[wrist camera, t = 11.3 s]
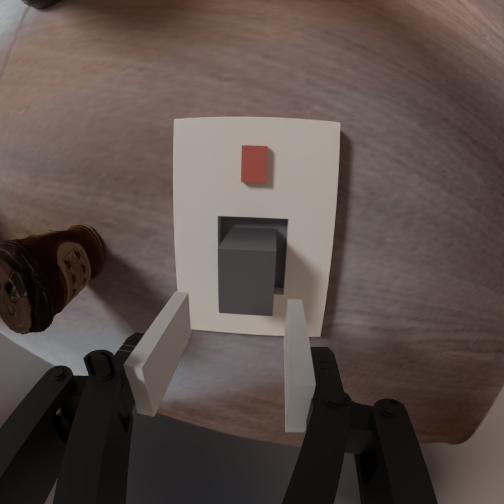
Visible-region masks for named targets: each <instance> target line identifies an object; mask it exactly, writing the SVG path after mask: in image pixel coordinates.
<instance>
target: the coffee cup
mask: <svg viewBox="0 0 504 504" xmlns="http://www.w3.org/2000/svg"><path fill="white" fill-rule="evenodd" d="M103 263H104V252H103V247H102V244H101V242H100V240H99V237H98V235H97V234H96V233H95V232H94V230H93V229H92V228H91V227H90V226H88V225H84V224H82V223H80V224H75V225H73V226H71V227H70V228H69V229H68V230H65V231H52V230H48V231H46V232H42V233H36V234H33V235H30V236H28V237H26V238H23V239H19V240H18V239H15V240H7V241H3V242H0V316H1V318H2V319H3V321H4V323H6V325H7V326H8V327H9V328H10V329H11V330H13V331H14V332H16V333H21V334H27V333H29V332H30V333H31V332H42V331H44V330H45V329H47V328H48V327H49V326H50V324H51V323H52V321H53V318H54V316H55V315H56V314H57V313H59V312H61V311H62V310H63V309H64V307H65V306H66V305H67V304H68V303H69V302H70V301H71V300H72V299H73V298H74V297H75V296H77V294H78V293H79V292H80V291H81V290H82V289H83V288H84V287H85V286H86V284H87V283H88V281H89V279H91V278H94V277H96V276H97V275H98V274H99V273H100V271H101V269H102V267H103Z"/></svg>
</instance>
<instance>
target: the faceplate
mask: <svg viewBox="0 0 504 504" xmlns="http://www.w3.org/2000/svg"><path fill="white" fill-rule="evenodd" d="M339 150H340V123H339V122H330V121H320V120H308V119H294V118H274V117H203V118H184V119H174V141H173V208H174V239H175V259H176V276H177V290H178V292H185V293H188V295H189V310H190V323H191V329H194V330H204V331H215V332H227V333H240V334H255V335H274V336H284V333H285V323H286V312H287V301H288V299H301V300H302V302H303V308H304V314H305V320H306V325H307V331H308V337H320V335H321V329H322V323H323V317H324V310H325V303H326V296H327V289H328V281H329V273H330V265H331V256H332V247H333V237H334V227H335V215H336V203H337V189H338V172H339ZM231 227H250V228H272V229H276V267H275V284H274V300H273V316H258V315H242V314H227V313H219V302H218V247H219V246H220V244H221V243H222V241H223V240H224V238H225V237H226V235H227V234H228V232H229V230H230V229H231Z"/></svg>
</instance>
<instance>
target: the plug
mask: <svg viewBox="0 0 504 504" xmlns="http://www.w3.org/2000/svg"><path fill="white" fill-rule="evenodd" d="M275 267H276V229H272V228H250V227H231V229H230V230H229V232H228V234H227V235H226V237H225V238H224V240H223V241H222V243H221V244H220V246H219V247H218V302H219V313H227V314H242V315H258V316H273V300H274V284H275Z"/></svg>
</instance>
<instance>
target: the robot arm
mask: <svg viewBox="0 0 504 504" xmlns="http://www.w3.org/2000/svg"><path fill="white" fill-rule="evenodd" d="M22 1H23V2H24V3H25V4H27V5H29V6H31V7H34V8H45V7H48V6H50V5H53V4H55V3H56V2H58V1H60V0H22ZM190 337H191V323H190V310H189V295H188V293H185V292H175V293H174V294H173V295H172V297H171V298H170V299H169V301H168V302H167V304H166V305H165V306H164V308H163V309H162V310H161V312H160V313H159V315H158V316H157V317H156V319H155V320H154V322H153V323H152V324H151V326H150V327H149V329H148V330H147V331H146V333H145V334H142V333H134V334H133V335H131V336H130V337H128V338H127V339H126V341H125V342H124V343H123V345H122V346H121V347H120V349H119V350H118V351H117V352H116V354H115V355H113V353H111V352H109V351H107V350H95V351H92V352H90V353H89V354H87V355H86V356H85V357H84V362H85V365H86V368H87V371H88V374H89V376H74V375H73V373H72V371H71V369H70V368H68V367H66V366H55V367H53V368H51V369H49V370H48V371H47V372H46V373H45V374H44V376H43V377H42V378H41V379H40V380H39V381H38V382H37V384H36V385H35V386H34V387H33V388H32V390H31V391H30V392H29V393H28V394H27V396H26V397H25V398H24V399H23V400H22V402H21V403H20V404H19V405H18V406H17V408H16V409H15V410H14V411H13V413H12V414H11V415H10V416H9V418H8V419H7V420H6V422H5V423H4V424H3V425H2V427H1V428H0V504H44V503H45V501H46V499H47V497H48V495H49V493H50V491H51V489H52V487H53V486H54V484H55V482H56V479H57V478H58V480H57V485H56V490H55V495H54V500H53V504H126V492H127V491H126V490H127V477H128V463H129V453H130V443H131V434H132V426H133V415H132V412H131V411H132V409H133V407H134V405H135V406H136V409H137V412H138V413H140V414H144V415H149V416H153V417H154V416H155V414H156V412H157V410H158V407H159V405H160V403H161V401H162V398H163V396H164V394H165V392H166V390H167V387H168V385H169V383H170V381H171V379H172V376H173V374H174V372H175V370H176V368H177V365H178V363H179V361H180V359H181V357H182V354H183V352H184V350H185V348H186V346H187V344H188V341H189V339H190ZM284 372H285V432H305V429H306V428H307V431H306V435H305V438H304V441H303V444H302V447H301V451H300V454H299V457H298V460H297V463H296V466H295V469H294V472H293V474H292V478H291V480H290V483H289V486H288V488H287V491H286V494H285V497H284V499H283V502H282V504H334V501H335V496H336V492H337V488H338V483H339V479H340V474H341V469H342V464H343V458H344V453H345V452H347V453H352V454H354V457H355V463H356V470H357V477H358V484H359V492H360V500H361V504H438V503H437V500H436V496H435V493H434V489H433V486H432V483H431V480H430V476H429V473H428V470H427V467H426V464H425V461H424V458H423V455H422V452H421V449H420V446H419V443H418V440H417V437H416V435H415V432H414V429H413V426H412V424H411V421H410V418H409V416H408V413H407V411H406V408H405V407H404V405H403V404H402V403H400V402H399V401H397V400H394V399H381V400H379V401H377V402H376V403H375V404H374V406H368V405H362V404H358V403H355V402H353V401H351V398H350V397H349V395H348V394H346V393H345V392H344V390H343V386H342V382H341V378H340V374H339V370H338V366H337V363H336V359H335V355H334V353H333V352H332V351H331V350H330V349H329V348H328V347H310V344H309V338H308V331H307V325H306V320H305V314H304V308H303V302H302V300H301V299H288V301H287V312H286V323H285V333H284ZM58 409H59V410H60V412H59V413H58V414H57V415H56V412H57V411H58Z"/></svg>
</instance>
